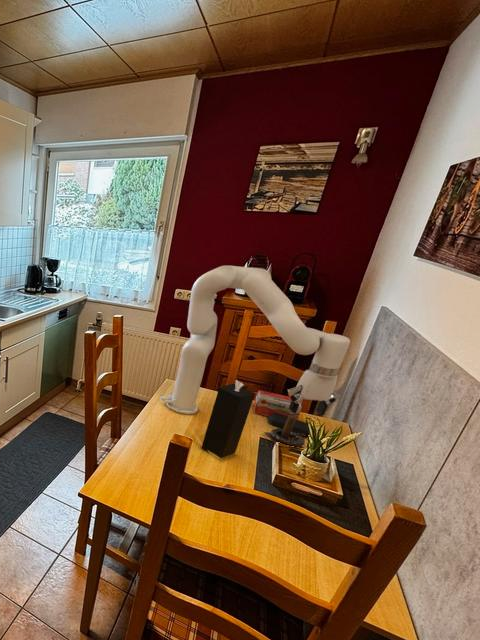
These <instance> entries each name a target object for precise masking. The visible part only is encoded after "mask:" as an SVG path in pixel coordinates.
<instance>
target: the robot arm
mask: <svg viewBox="0 0 480 640" xmlns="http://www.w3.org/2000/svg"><path fill="white" fill-rule="evenodd" d="M226 289H236V290H242V291H244V292H245V294H246V296H248V298H250V299H251V301H252V302H253V303H254V304H255V306H257V307H258V309H260V311H261V312H262V313H263V314H264V315H265V317H266V318H267V320H268V322H269V323H270V324H271V326H273V328H274V329H275V331H276V332H277V334H278V335H279V336H280V337H281V339H282V340H283V341H284V343H285V344H286V345H287V346H288V347H289V348H290V349H291V350H292V351H293V352H295V353H296V354H298V355H301V356H309V355H312V354H314V356H313V358H312V360H311V363H310V365H309V368H308V369H306V370H305V371H304V372H303V374H302V375H301V376H300V379H299V380H298V382H297V384H296V386H295V387H292V388H289V389H287V394H288V397H290V399H291V400H292V401H291V403H290V406H289V410H290V411H291V412H293V413H296V412H297V409H298V407H299V402H300V403H301V402H302V401H303V400H306V401H307V400H308V401H319V402H318V404H317V407H316V409H315V412H316V413H317V414H319V415H321V416H324V415H325V414H326V411H327V409H328V407H330V406H331V405H332V403H334V402H336V400H337V399H338V398H339V397H341V394H340V393H339V392H337V391H336V390H335V389H336V385H337V381H338V375H337V374H338V372H341V371H342V368H341V365H342V364H343V361H344V359H345V356H346V354H347V351H348V349H349V347H350V344H351V340H350V338H349V337H347V336H345V335H341V334H338V333H328V332H325V331H321V330H319V329H316V328H311V327H307V326H306V325H305V324H304V322H303V321H302V320H301V319H300V317H299V316H298V313H297V312H296V310H295V307H294V305H293V302H292V301H291V300H290V298H288V296H287V295H286V294H285V293H284V292H283V291H282V290H281V289H280V287H279V286H277V284H276V283H275V282H274V280H272V275H271V273H270V272H269V271H268V270H267V269H266V268H265V269H264V268H260V267H248V266H247V267H246V266H238V265H237V266H236V265H221V266H218V267H216V268H213V269H211V270H209V271H207V272H205V273H204V274H202V275H200V276H199V277H198V278H197V279H196V281H194V283H193V285H192V287H191V291H190V298H189V306H188V313H187V314H188V315H187V322H186V327H187V331H188V332H189V333H190V337H189V339H188V340H187V341H186V342H185V344H183V347H182V349H181V353H180V359H179V364H178V369H177V373H176V377H175V381H174V382H175V383H174V386H173V390H172V393H170V394H169V395H168V396H164V395H163V396H162V395H161V396H159V401H161V402H164V404H166V406H167V407H168V408H169V409H170V410H172V411H174V412H176V413H179V414H182V415H183V414H184V415H194V414H196V413H198V411H199V407H198V405H197V404H196V402H197V399H198V395H199V392H200V388H201V386H202V385H201V384H202V381H203V376H204V373H205V368H206V364H207V360H208V357H209V355H210V354H211V352H212V351H213V349H214V347H215V343H216V336H217V328H218V316H217V315H218V314H216V312H215V311H214V306H215V296H216V294H217V293H218V292H221V291H224V290H226ZM296 398H297V399H296Z"/></svg>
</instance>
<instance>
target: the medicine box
mask: <svg viewBox="0 0 480 640" xmlns="http://www.w3.org/2000/svg"><path fill="white" fill-rule="evenodd" d="M255 396H256V397H255V398H254V401H253V402H254V403H253V413H254V414H257V415H261V416H265V417H268V418H269V415H270V414H273V413H276V414H280V415H283V416H286V417H288V416H289V415H293V416H296V417H297V418H296V420H299V417H300V414H301V411H302V408H303V407H302V403H301V401H300V402H299V407H298V409H297V412H296V413H293V412H291V411H290V410H289V406H290V403H291V401H292V400H291V399H290V397H289V396H287V395H283V394H278V393H275V392H270V391H266V390H265V391H264V390H261V389H260V390H258V392H257V394H256V395H255ZM296 399H298V398H296Z"/></svg>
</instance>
